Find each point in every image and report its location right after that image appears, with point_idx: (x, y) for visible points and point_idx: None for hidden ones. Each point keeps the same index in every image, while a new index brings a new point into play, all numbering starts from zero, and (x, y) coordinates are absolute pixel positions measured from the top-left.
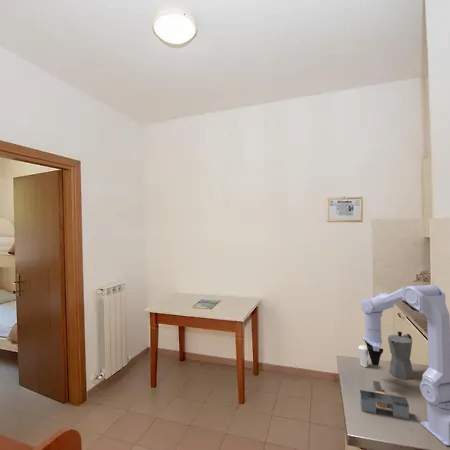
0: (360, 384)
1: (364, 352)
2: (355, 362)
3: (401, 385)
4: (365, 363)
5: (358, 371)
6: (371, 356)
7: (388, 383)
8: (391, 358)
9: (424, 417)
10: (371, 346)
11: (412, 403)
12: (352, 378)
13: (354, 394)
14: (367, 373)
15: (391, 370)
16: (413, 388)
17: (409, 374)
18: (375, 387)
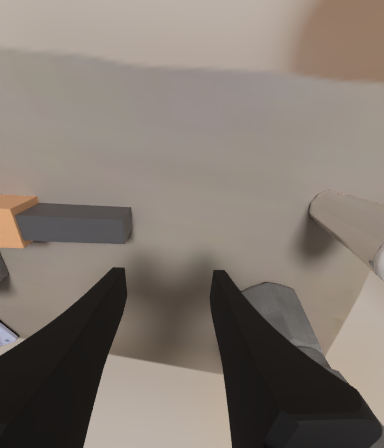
0: (141, 157)
1: (366, 244)
2: (365, 171)
3: (183, 295)
4: (320, 216)
5: (270, 170)
6: (54, 324)
7: (186, 264)
8: (292, 339)
9: (14, 308)
10: (242, 386)
11: (78, 298)
12: (191, 125)
13: (24, 108)
14: (254, 207)
15: (263, 295)
16: (174, 317)
17: None
18: (57, 219)
